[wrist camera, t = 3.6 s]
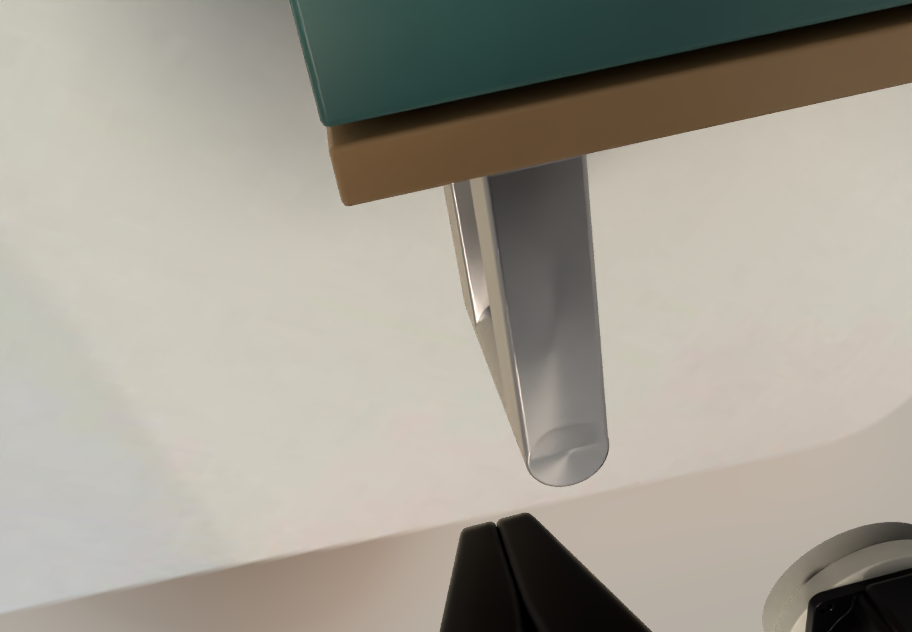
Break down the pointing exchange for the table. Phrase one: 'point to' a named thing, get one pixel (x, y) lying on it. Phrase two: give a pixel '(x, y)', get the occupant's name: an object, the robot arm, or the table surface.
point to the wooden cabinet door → (583, 196)
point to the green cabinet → (513, 42)
